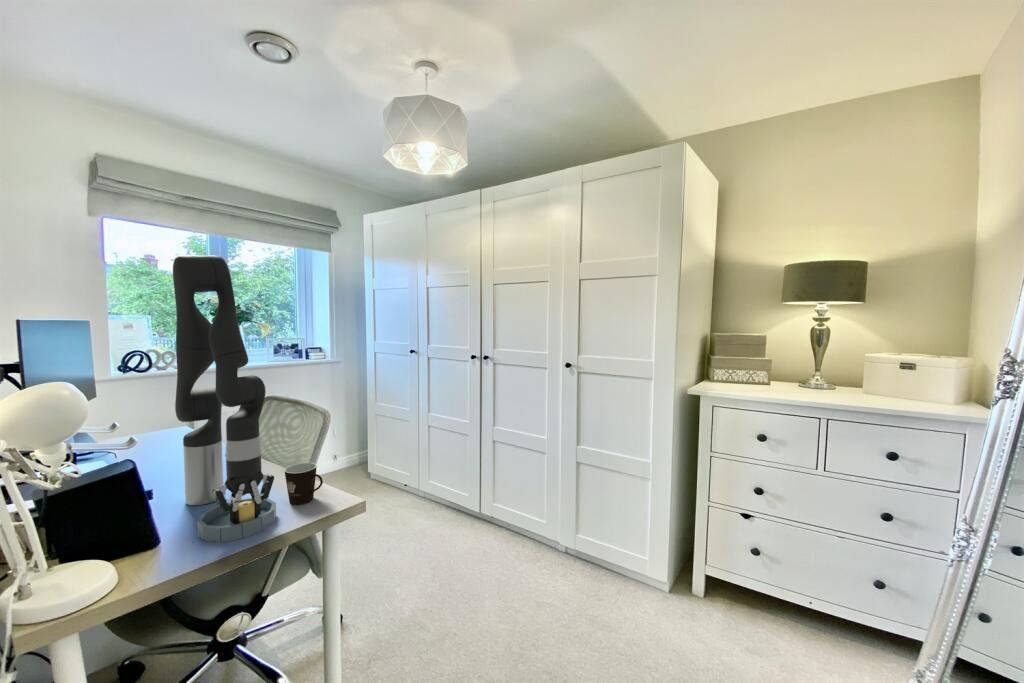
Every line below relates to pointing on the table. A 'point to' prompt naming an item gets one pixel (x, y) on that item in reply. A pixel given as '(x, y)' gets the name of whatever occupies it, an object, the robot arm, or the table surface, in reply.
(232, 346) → the robot arm
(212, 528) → the groove dish
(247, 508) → the bead
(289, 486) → the coffee mug
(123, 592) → the table surface
